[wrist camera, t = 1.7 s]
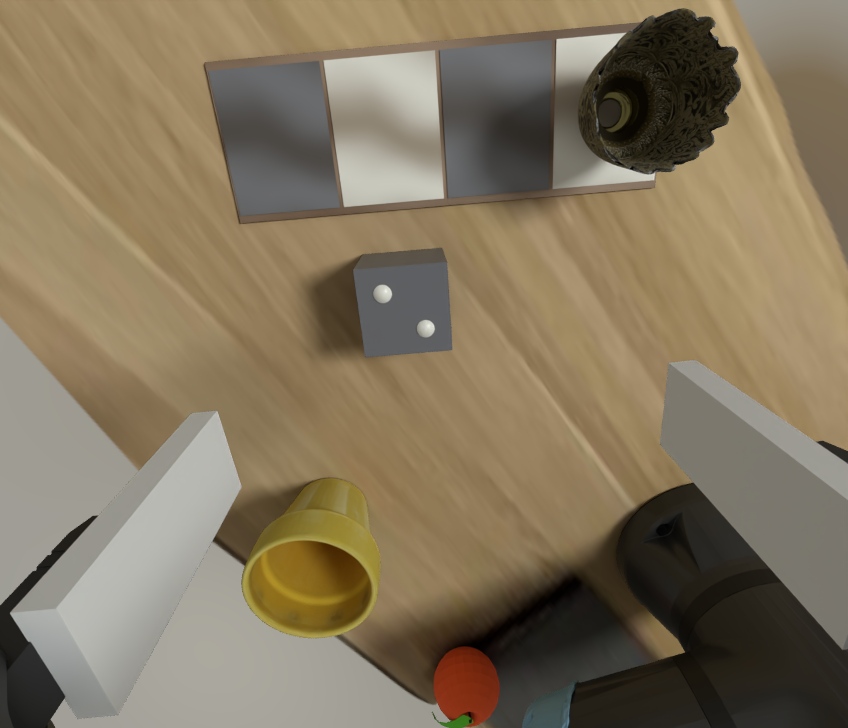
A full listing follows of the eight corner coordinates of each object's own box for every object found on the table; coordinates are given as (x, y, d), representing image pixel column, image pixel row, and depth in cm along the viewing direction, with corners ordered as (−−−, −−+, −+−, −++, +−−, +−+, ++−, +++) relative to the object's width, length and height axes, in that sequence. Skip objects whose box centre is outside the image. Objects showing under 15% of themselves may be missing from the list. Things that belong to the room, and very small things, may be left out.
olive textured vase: (530, 116, 31) (566, 99, 24) (617, 19, 29) (685, -31, 22) (600, 195, 33) (652, 203, 26) (685, 110, 31) (768, 92, 24)
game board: (653, 187, 34) (655, 187, 33) (241, 222, 34) (239, 223, 34) (670, 20, 30) (673, 19, 29) (205, 63, 30) (203, 62, 30)
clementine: (448, 685, 54) (452, 756, 48) (412, 653, 52) (411, 723, 45) (505, 656, 52) (518, 726, 46) (471, 622, 50) (479, 690, 44)
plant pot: (255, 480, 43) (212, 564, 34) (358, 444, 41) (342, 520, 32) (307, 560, 46) (281, 654, 37) (403, 529, 45) (399, 618, 36)
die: (446, 323, 37) (452, 350, 32) (372, 329, 37) (365, 357, 32) (441, 247, 35) (447, 262, 29) (362, 254, 35) (352, 270, 29)
